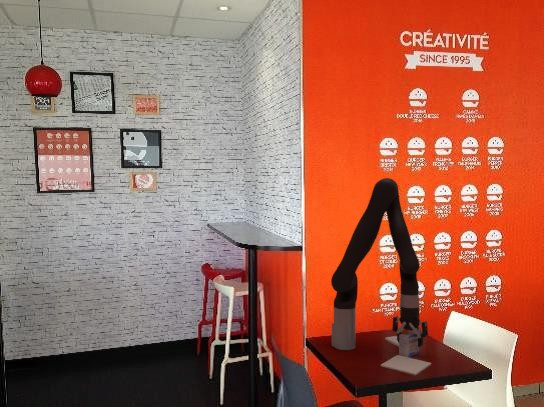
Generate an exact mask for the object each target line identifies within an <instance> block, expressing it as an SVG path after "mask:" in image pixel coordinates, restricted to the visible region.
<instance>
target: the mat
mask: <svg viewBox="0 0 544 407" xmlns="http://www.w3.org/2000/svg"><path fill="white" fill-rule="evenodd" d="M431 365H432V362H428V361H425V360H420V359H416V358H412V357H409V358H408V357H404V356H400V355H399V354H397V355H395V356H393V357H392V358H390V359H388V360H387V361H385V362H383V363H381V364H380V367H382V368H386V369H390V370H394V371H397V372H399V373H404V374H408V375H411V376H417V375H419V374H420V373H421V372H423V371H424V370H426V369H428V368H429V367H430V366H431Z"/></svg>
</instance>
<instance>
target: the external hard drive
mask: <svg viewBox="0 0 544 407" xmlns="http://www.w3.org/2000/svg"><path fill="white" fill-rule="evenodd" d="M384 340H385V341H386V342H388V343H389V344H392V345H394V346H396V347H398V348H399V343H398V341H397V335H395V336H388V337H386V336H385V339H384Z"/></svg>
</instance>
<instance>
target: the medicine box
mask: <svg viewBox="0 0 544 407" xmlns="http://www.w3.org/2000/svg"><path fill="white" fill-rule="evenodd" d="M418 338H419V337H418V336H417V334H416V333H415V332H414V331H410V330H408V331H406V332H404V333H402V334H400V335H399V347H398V355H400V356H404V357H408V358H412V357H414V356H416V355H419V353H420V347H418Z"/></svg>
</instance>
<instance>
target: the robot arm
mask: <svg viewBox="0 0 544 407" xmlns="http://www.w3.org/2000/svg"><path fill="white" fill-rule="evenodd" d="M399 193H400V192H399V185H398V183H397V182H396V181H395V180H394V179H393V178H389V177H385V178H382V179H380V180H378V181H377V182H376V183H375V184H374V186H373V188H372V192H371V195H370V198H369V201H368V204H367V206H366V208H365V211H364V212H363V214H362V216H361V217H360V219H359V221H358V223H356V224H357V225H356V227H355V229H353V230H354V231H353V233H352V235H351V238H350V240H349V243H348V245H347V246H346V249H345V251H344V255H343V257H342V259H341V260H340V263H339V264H338V266H337V267H336V269H335V271H334V273H333V274H332V276H331V282H330V283H331V286H332V289H333V290H334V291H335V292H336V295H335V297H334V299H333V323H331V347H333V348H335V349H336V350H339V351H351V350H354V349H356V339H357V338H356V329H357V328H356V325H357V324H356V316H357V313H356V312H357V311H356V309H357V308H356V307H357V306H356V305H357V304H356V303H357V300H358V288H359V287H358V285H359V284H358V283H359V282H358V276H357V273H356V272H357V270H358V268H359V266H360V264H361V263H362V261H364V259H365V258H366V256H367V255H368V254H369V252H370V251H371V249H372V248H373V245H374V244H375V242H376V240H377V237H378V235H379V232H380V229H381V225H382V222H383V219H384V215H385V214H386V216H387V222H388V228H389V232H390V236H391V240H392V243H393V246H394V248H395V251H396V252H397V255H398V259H399V264H398V265H399V266H398V267H399V278H400V297H399V305H400V306H399V309H400V310H399V315H400V316H398V315H396V316H394V317H392V332H395V333H396V336H397V341H398V343H399V335H400V334H403V333H402V332H404V330H405V331H413V332H415V333H416V334H417V336H418V337H419V338H418V347H419V348H421V347H422V346H424V338H426V337H428V336H429V330H428V321H427V320H425V321H422V320H421V319H420V296H419V292H420V291H419V280H418V277H417V275H418V271H419V270H420V261H419V258H418V256H417V253H416V251H415V248H414V245H413V243H412V241H413V240H412V238H411V236H410V235H411V234H410V232H409V229H408V226H407V223H406V219H405V217H404V214H403V211H402V207H401V206H402V205H401V201H400V194H399ZM399 323H400V326H399ZM420 327H421V328H420Z"/></svg>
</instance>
